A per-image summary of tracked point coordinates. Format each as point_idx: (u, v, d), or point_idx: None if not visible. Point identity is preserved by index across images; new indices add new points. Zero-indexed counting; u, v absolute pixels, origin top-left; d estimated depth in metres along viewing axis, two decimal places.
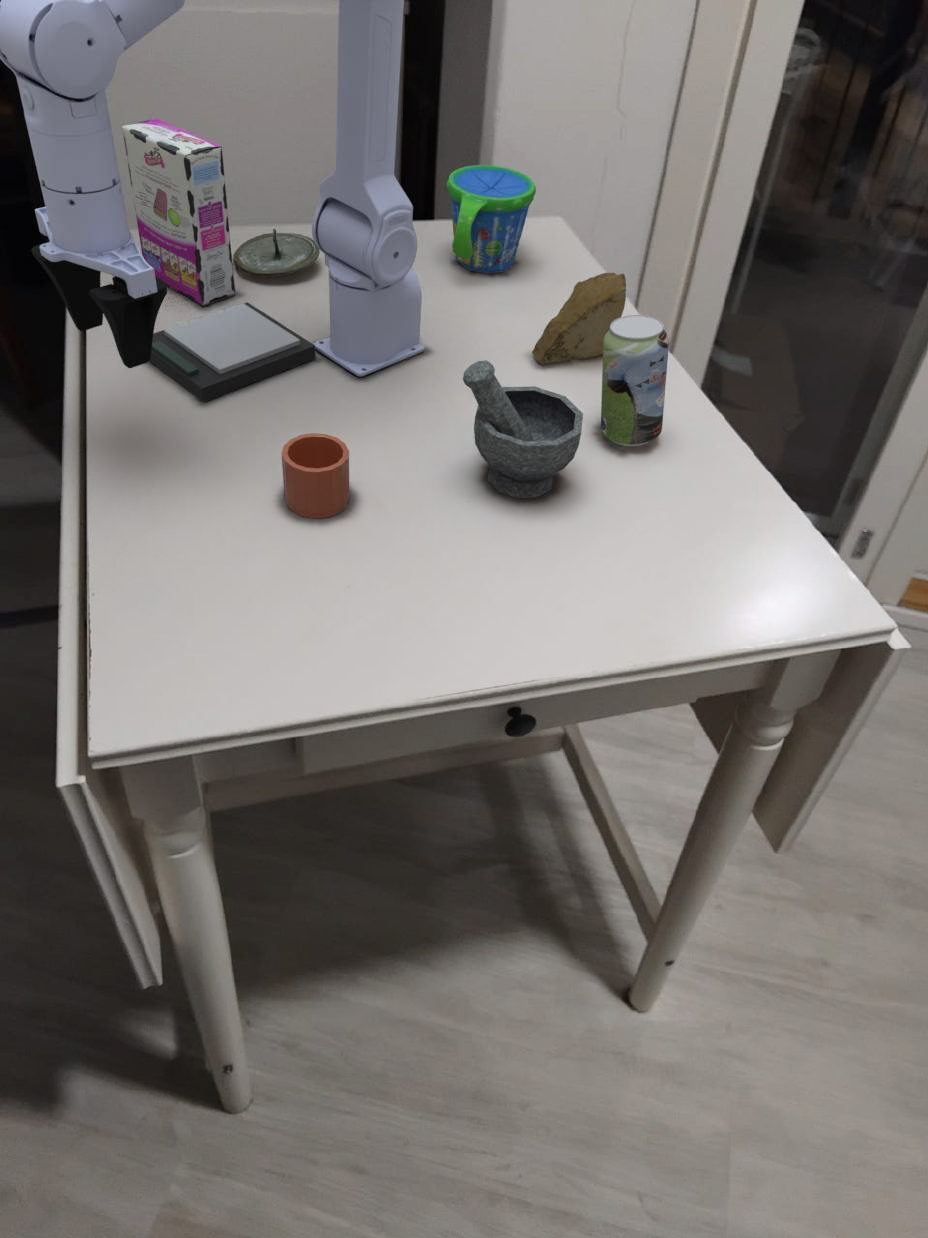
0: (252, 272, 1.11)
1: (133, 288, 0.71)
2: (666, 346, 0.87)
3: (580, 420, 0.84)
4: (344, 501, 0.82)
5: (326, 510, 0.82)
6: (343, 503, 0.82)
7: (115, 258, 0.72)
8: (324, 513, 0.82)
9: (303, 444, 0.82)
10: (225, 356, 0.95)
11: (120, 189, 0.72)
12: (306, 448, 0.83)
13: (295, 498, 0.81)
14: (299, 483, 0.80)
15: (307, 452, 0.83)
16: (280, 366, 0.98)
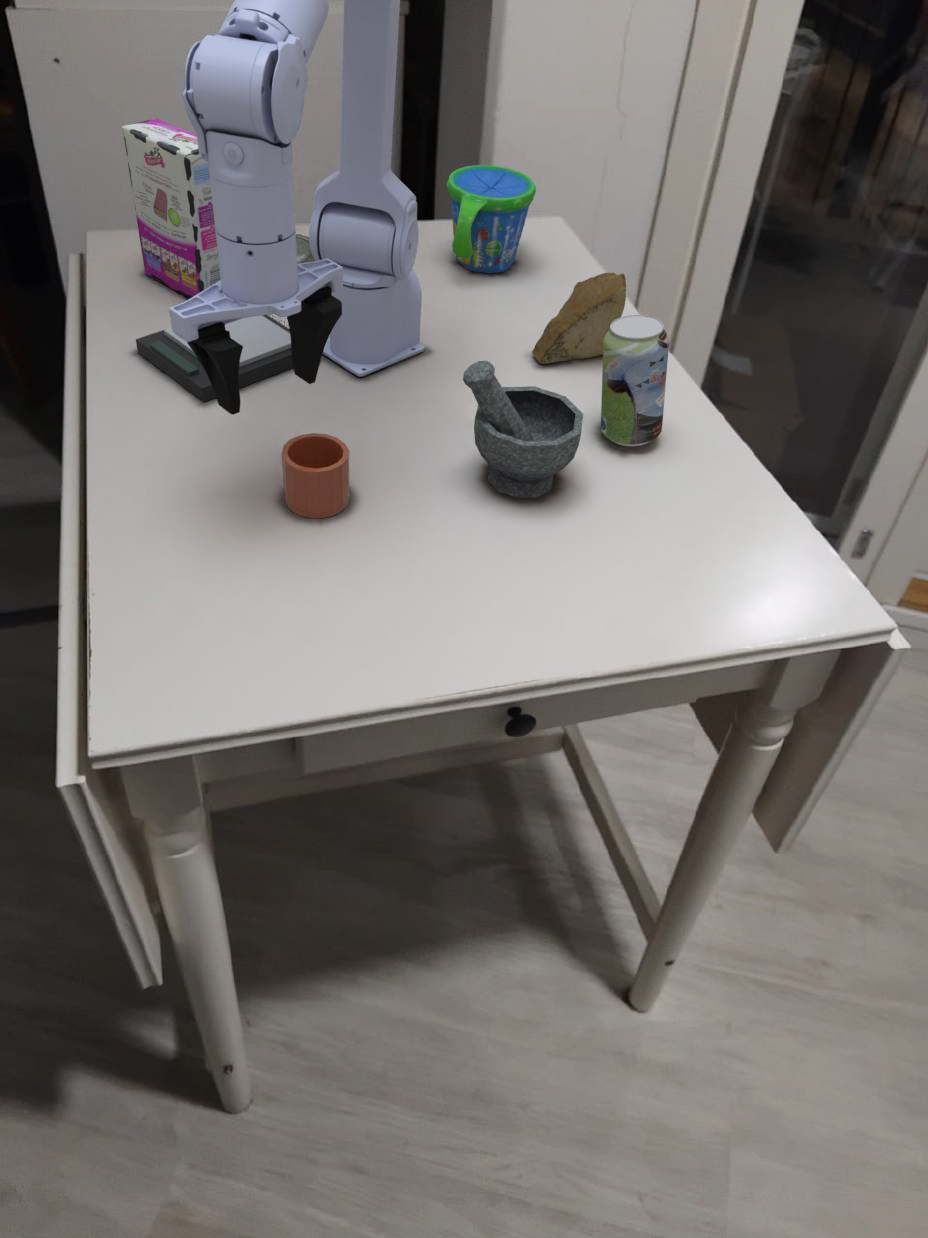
0: None
1: (342, 280, 0.76)
2: (666, 346, 0.87)
3: (580, 420, 0.84)
4: (344, 501, 0.82)
5: (326, 510, 0.82)
6: (343, 503, 0.82)
7: (300, 278, 0.74)
8: (324, 513, 0.82)
9: (303, 444, 0.82)
10: None
11: None
12: (306, 448, 0.83)
13: (295, 498, 0.81)
14: (299, 483, 0.80)
15: (307, 452, 0.83)
16: (280, 366, 0.98)
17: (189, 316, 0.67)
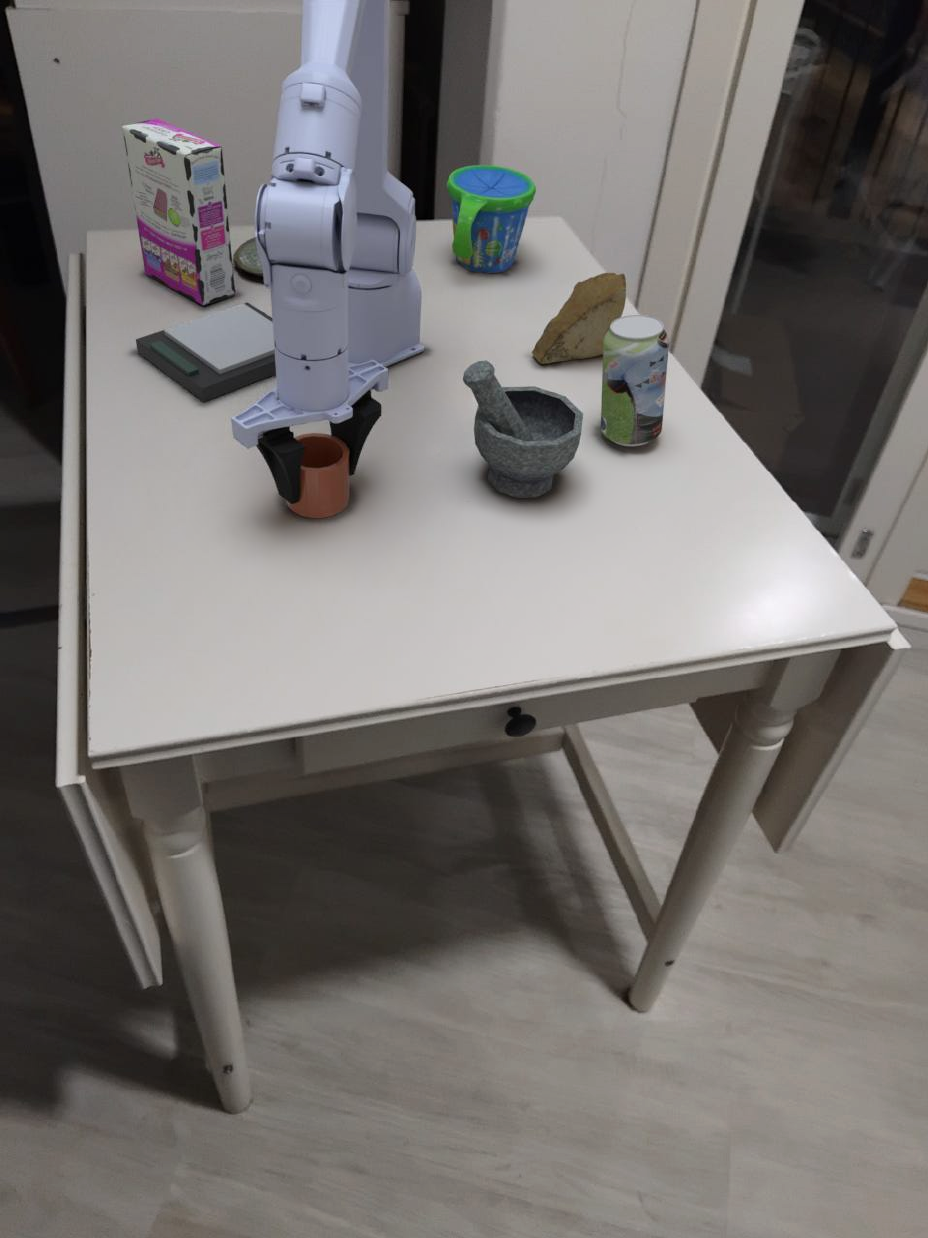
0: (252, 272, 1.11)
1: (387, 380, 0.81)
2: (666, 346, 0.87)
3: (580, 420, 0.84)
4: (344, 501, 0.83)
5: (326, 510, 0.82)
6: (343, 503, 0.82)
7: (349, 381, 0.78)
8: (324, 513, 0.82)
9: (304, 444, 0.82)
10: (225, 356, 0.95)
11: None
12: (306, 448, 0.83)
13: None
14: None
15: (307, 452, 0.83)
16: None
17: (250, 426, 0.72)
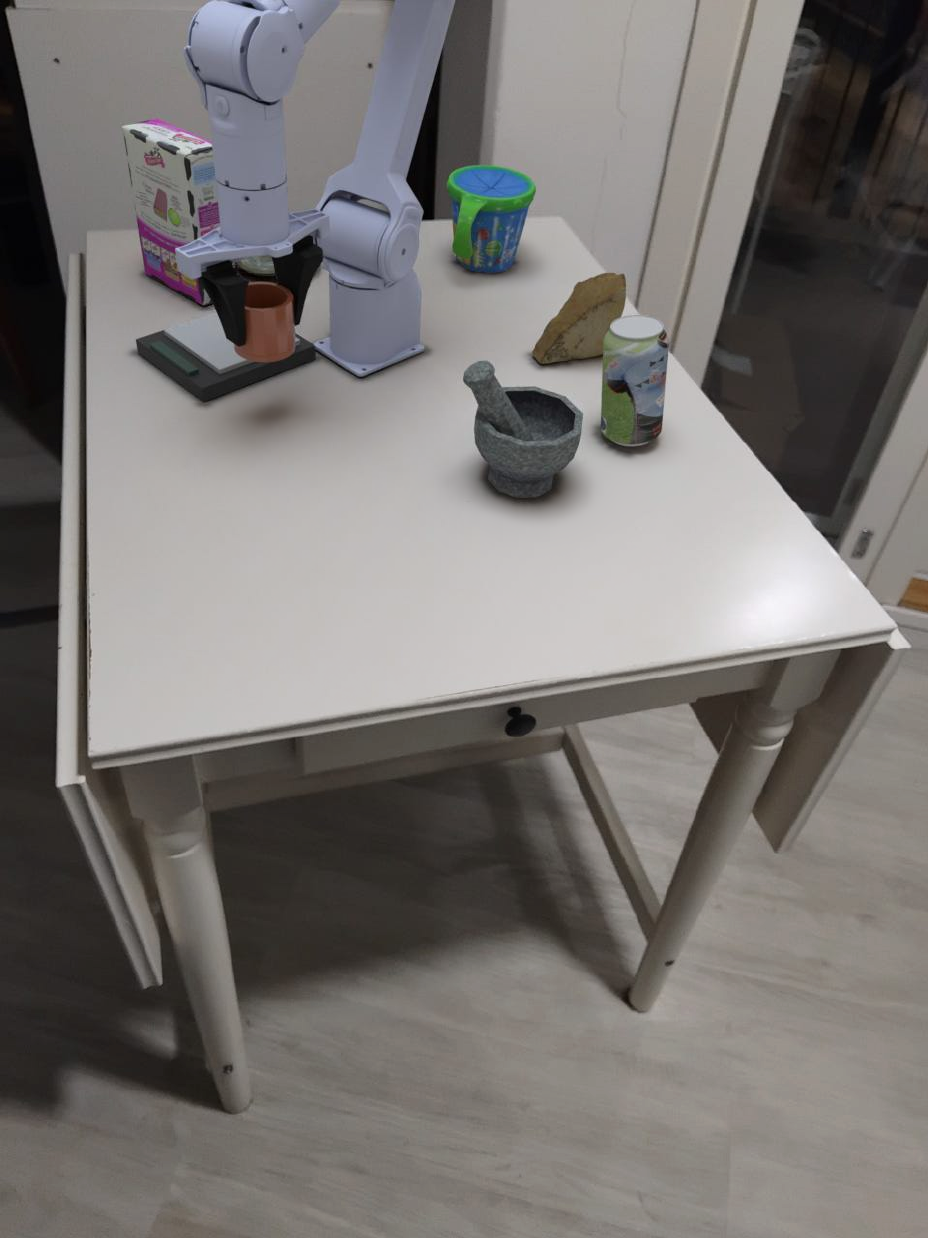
0: (252, 272, 1.11)
1: (329, 227, 0.84)
2: (666, 346, 0.87)
3: (580, 420, 0.84)
4: (289, 347, 0.86)
5: (272, 354, 0.85)
6: (289, 348, 0.86)
7: (291, 225, 0.82)
8: (270, 357, 0.85)
9: (250, 292, 0.86)
10: (225, 356, 0.95)
11: None
12: (253, 296, 0.86)
13: None
14: (245, 324, 0.83)
15: (254, 301, 0.87)
16: (280, 366, 0.98)
17: (193, 255, 0.76)
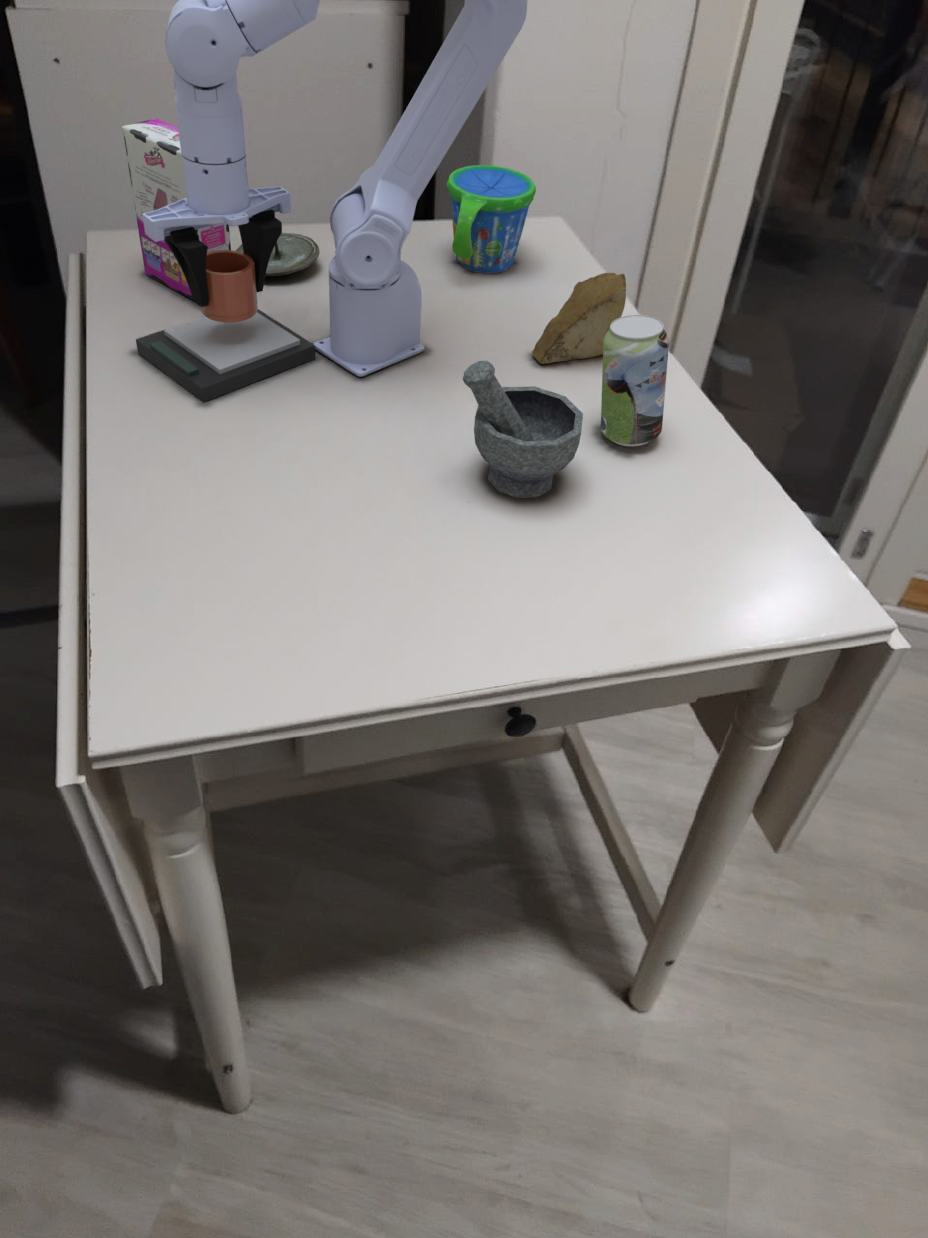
0: None
1: (290, 203, 0.93)
2: (666, 346, 0.87)
3: (580, 420, 0.84)
4: (249, 310, 0.95)
5: (232, 315, 0.94)
6: (249, 311, 0.95)
7: (254, 199, 0.91)
8: (231, 318, 0.95)
9: (218, 258, 0.95)
10: (225, 356, 0.95)
11: None
12: (221, 263, 0.96)
13: None
14: (207, 286, 0.93)
15: (222, 267, 0.96)
16: (280, 366, 0.98)
17: (156, 220, 0.85)
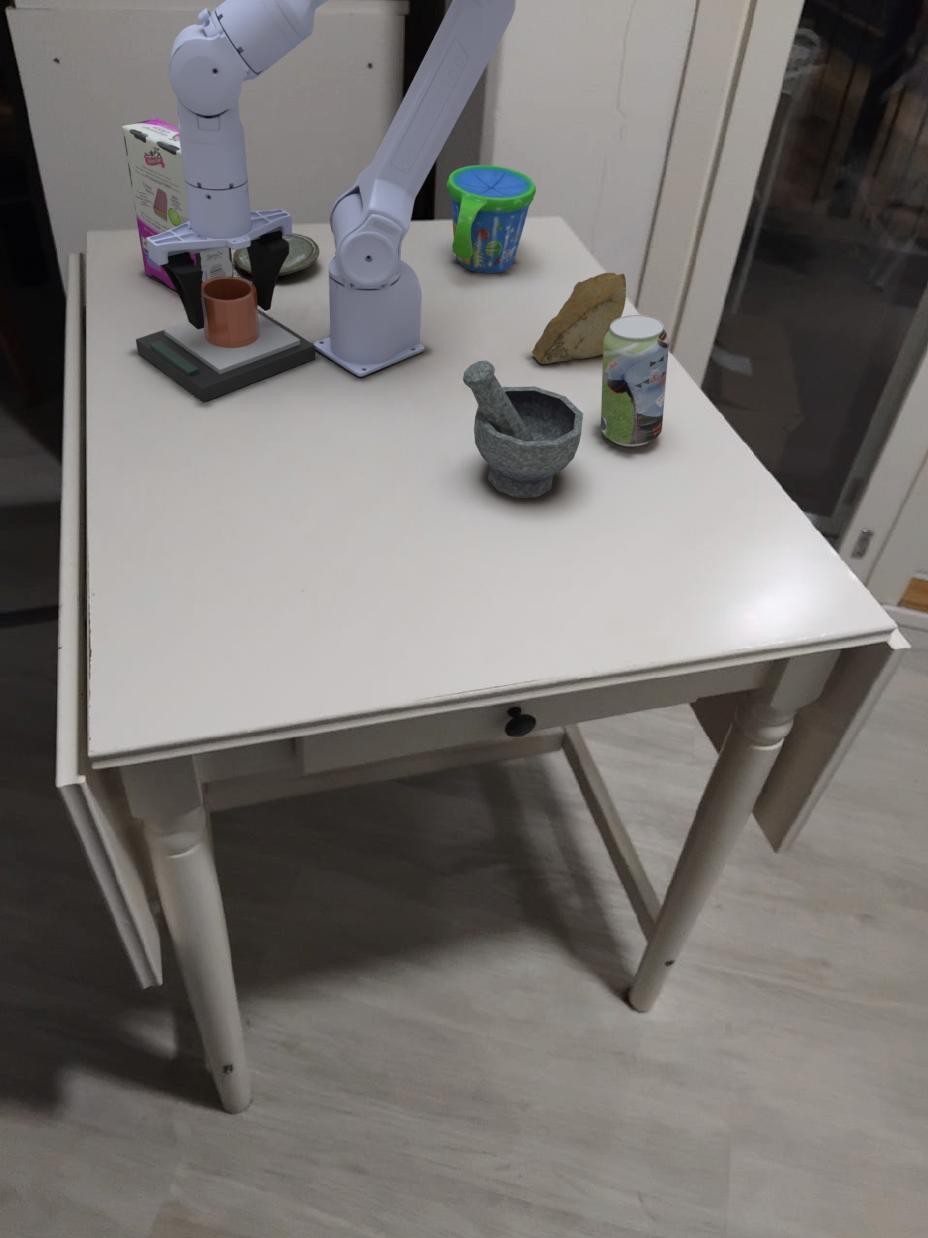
0: None
1: (291, 226, 0.95)
2: (666, 346, 0.87)
3: (580, 420, 0.84)
4: (251, 335, 0.97)
5: (235, 340, 0.96)
6: (251, 337, 0.97)
7: (255, 222, 0.93)
8: (233, 343, 0.96)
9: (221, 285, 0.97)
10: (225, 356, 0.95)
11: None
12: (223, 289, 0.97)
13: (209, 328, 0.96)
14: (210, 313, 0.94)
15: (225, 293, 0.98)
16: (280, 366, 0.98)
17: (160, 244, 0.87)
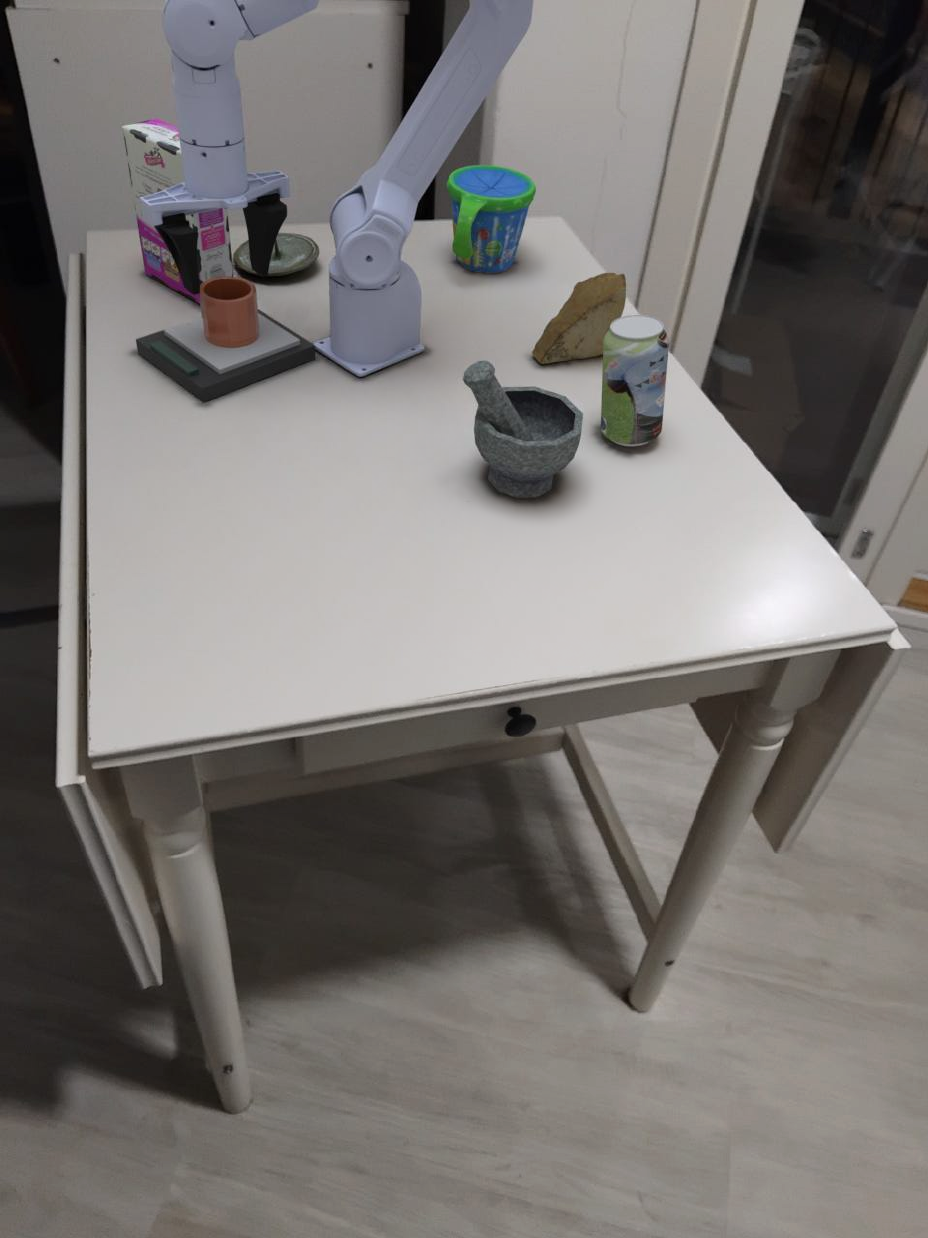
0: (252, 272, 1.11)
1: (289, 188, 0.92)
2: (666, 346, 0.87)
3: (580, 420, 0.84)
4: (251, 335, 0.97)
5: (235, 340, 0.96)
6: (251, 337, 0.97)
7: (252, 183, 0.90)
8: (233, 343, 0.96)
9: (221, 285, 0.97)
10: (225, 356, 0.95)
11: None
12: (223, 289, 0.97)
13: (209, 328, 0.96)
14: (210, 313, 0.94)
15: (225, 293, 0.98)
16: (280, 366, 0.98)
17: (154, 204, 0.84)
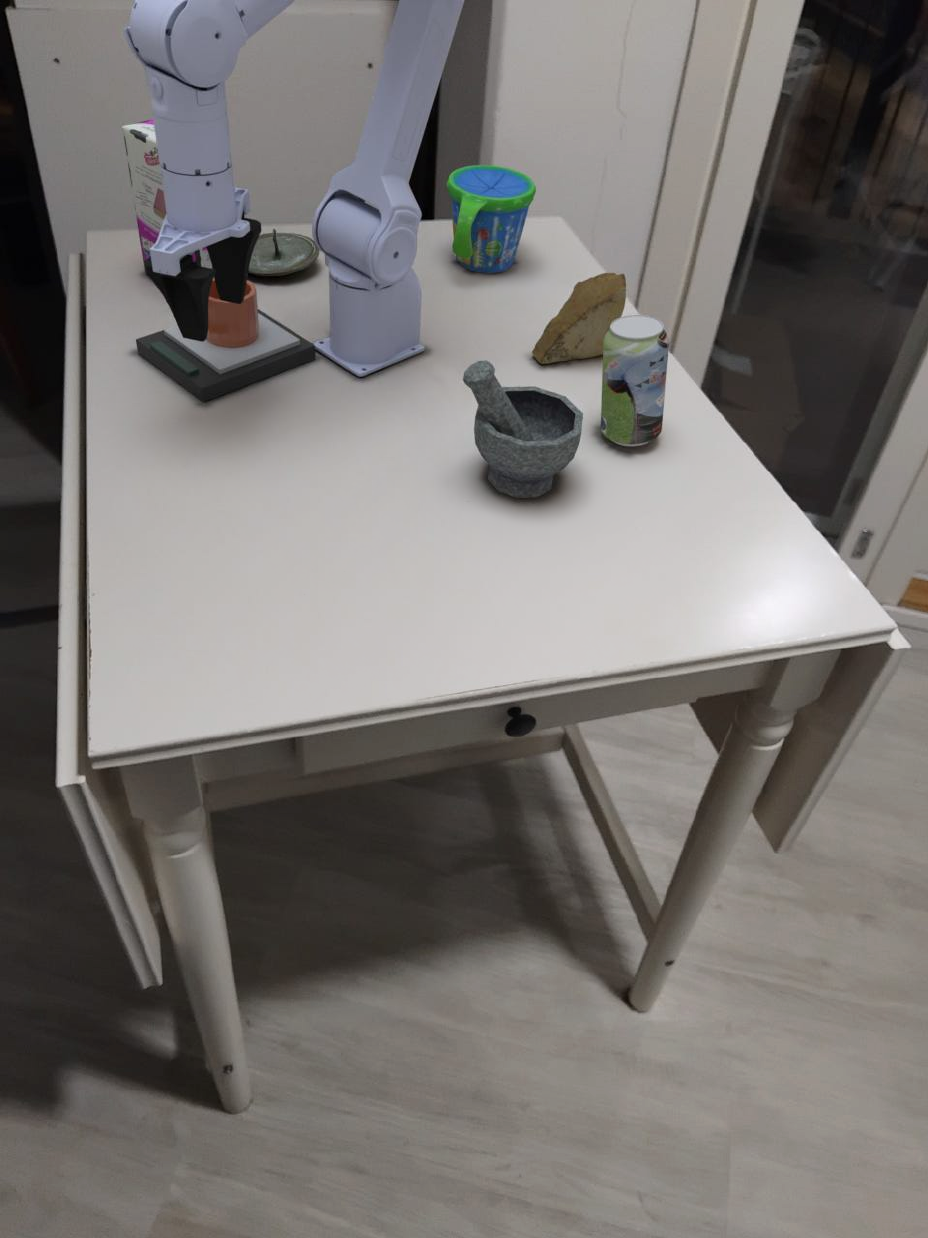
0: (252, 272, 1.11)
1: (249, 202, 0.85)
2: (666, 346, 0.87)
3: (580, 420, 0.84)
4: (251, 335, 0.97)
5: (235, 340, 0.96)
6: (251, 337, 0.97)
7: None
8: (233, 343, 0.96)
9: None
10: (225, 356, 0.95)
11: None
12: None
13: (209, 328, 0.96)
14: (210, 313, 0.94)
15: None
16: (280, 366, 0.98)
17: (174, 251, 0.75)
